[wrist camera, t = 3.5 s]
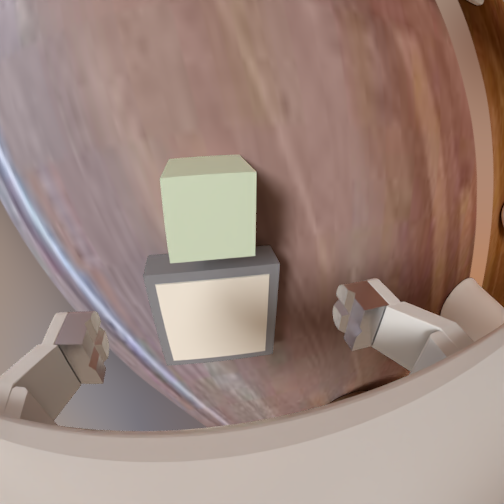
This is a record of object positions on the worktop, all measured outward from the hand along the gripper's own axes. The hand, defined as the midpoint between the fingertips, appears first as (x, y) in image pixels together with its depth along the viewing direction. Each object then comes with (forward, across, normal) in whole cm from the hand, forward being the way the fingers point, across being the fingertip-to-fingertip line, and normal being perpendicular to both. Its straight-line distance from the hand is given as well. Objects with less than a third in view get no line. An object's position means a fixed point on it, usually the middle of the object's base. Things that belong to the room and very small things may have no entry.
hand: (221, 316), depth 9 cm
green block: (+13, 0, 0) cm, 13 cm away
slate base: (+14, 0, +10) cm, 17 cm away
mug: (+13, -35, +18) cm, 42 cm away
